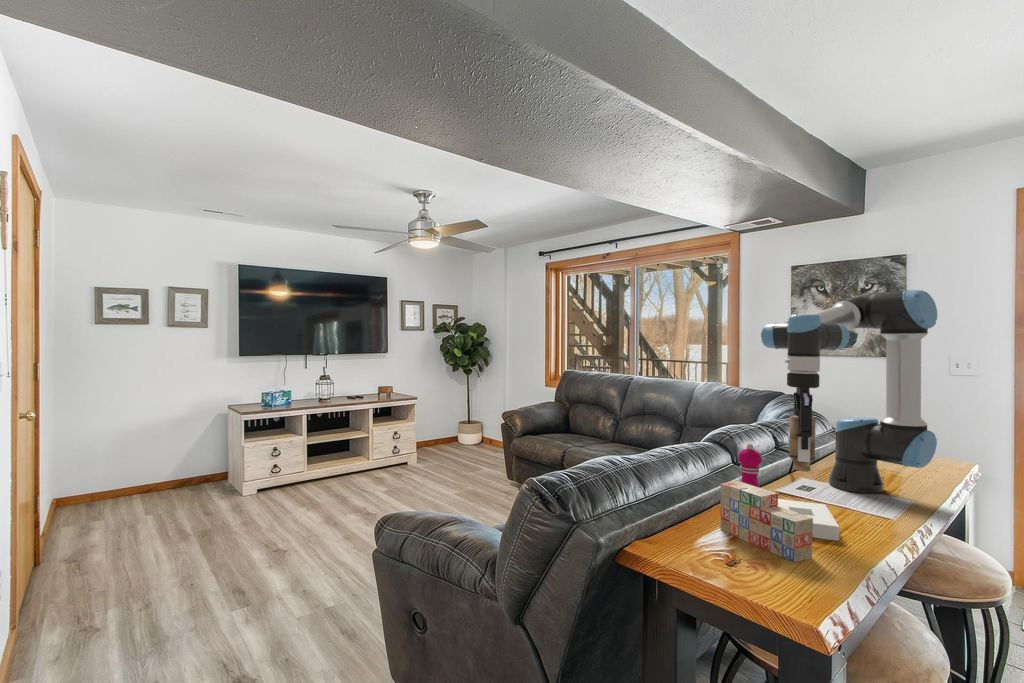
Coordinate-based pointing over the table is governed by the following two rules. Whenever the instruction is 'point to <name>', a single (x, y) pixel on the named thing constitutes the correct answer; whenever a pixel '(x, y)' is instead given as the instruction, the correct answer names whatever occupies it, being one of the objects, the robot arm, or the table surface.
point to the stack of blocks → (765, 521)
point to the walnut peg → (794, 444)
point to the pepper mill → (749, 465)
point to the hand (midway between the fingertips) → (801, 458)
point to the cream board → (815, 518)
